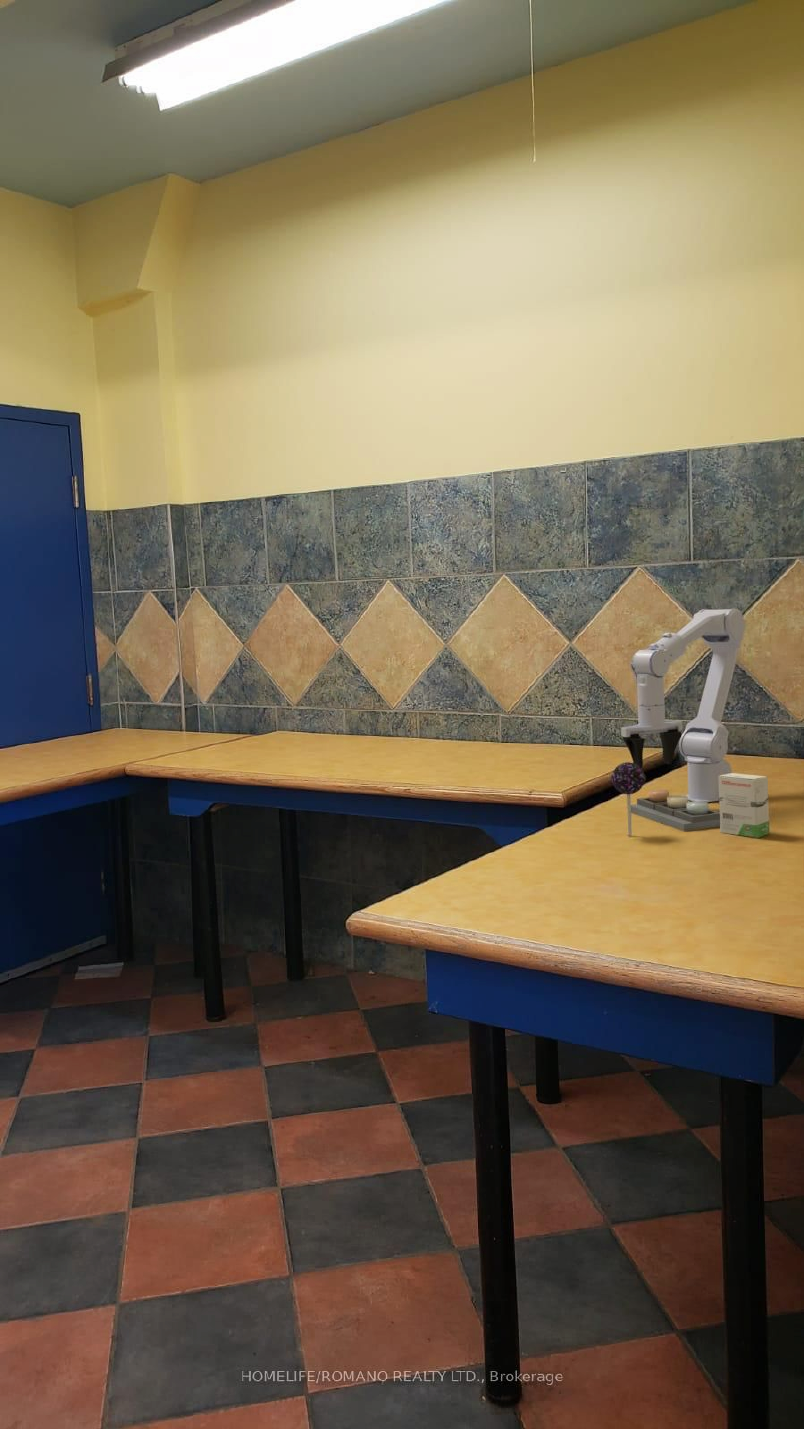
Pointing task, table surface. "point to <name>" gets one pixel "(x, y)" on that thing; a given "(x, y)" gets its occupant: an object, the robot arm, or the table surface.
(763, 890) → the table surface
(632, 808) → the panel
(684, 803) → the cream button
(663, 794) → the terracotta button
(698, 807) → the blue-grey button
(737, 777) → the ink box
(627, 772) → the lollipop
